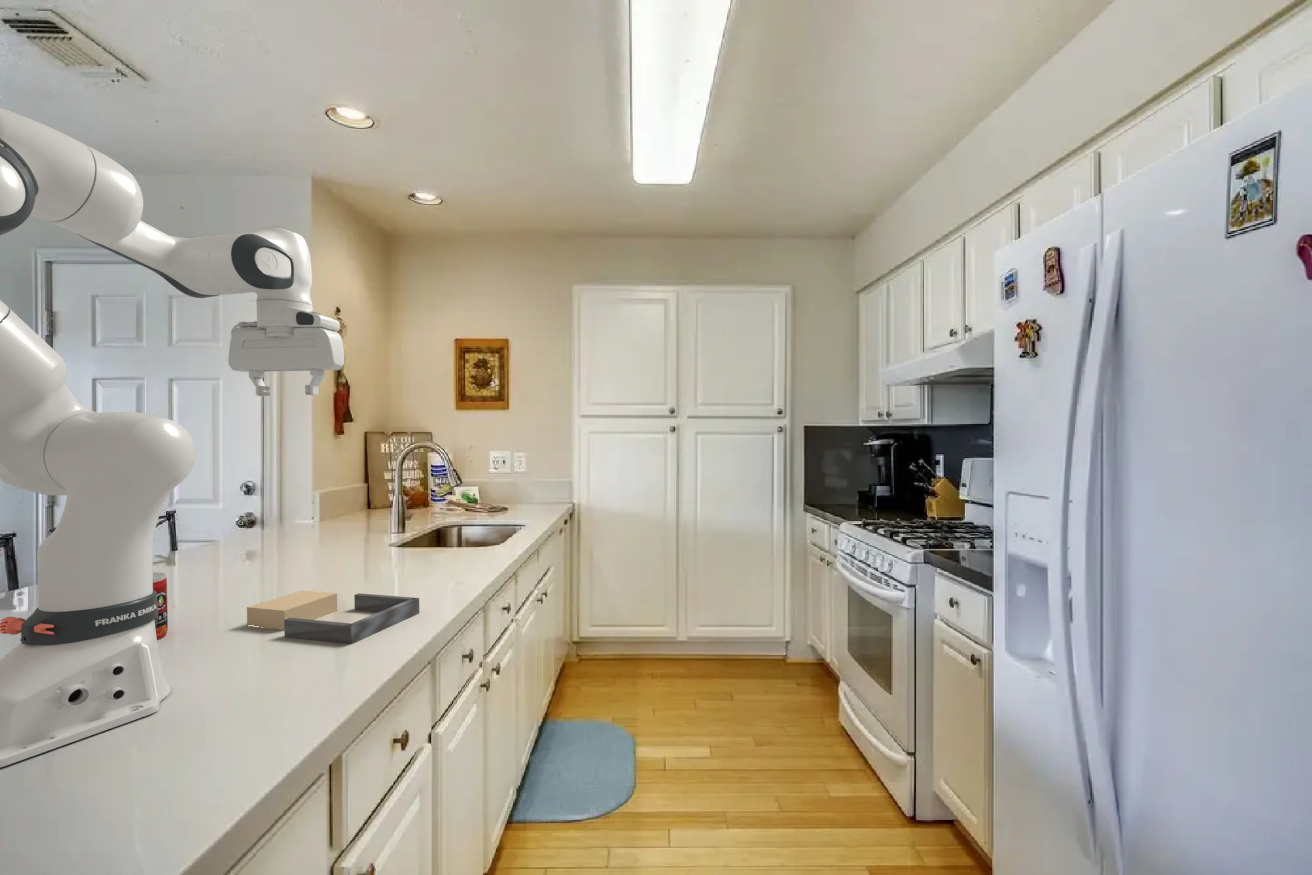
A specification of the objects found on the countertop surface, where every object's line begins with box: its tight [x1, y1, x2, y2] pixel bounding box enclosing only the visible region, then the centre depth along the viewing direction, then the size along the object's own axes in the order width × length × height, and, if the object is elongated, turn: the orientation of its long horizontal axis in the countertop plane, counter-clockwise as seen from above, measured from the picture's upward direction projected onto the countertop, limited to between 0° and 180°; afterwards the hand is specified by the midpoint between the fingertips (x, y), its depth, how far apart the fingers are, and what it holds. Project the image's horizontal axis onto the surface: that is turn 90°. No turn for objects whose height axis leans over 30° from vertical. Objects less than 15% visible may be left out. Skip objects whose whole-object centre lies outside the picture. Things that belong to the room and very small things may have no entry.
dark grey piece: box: [283, 593, 420, 645], centre depth 111 cm, size 17×15×3 cm
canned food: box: [153, 571, 169, 641], centre depth 104 cm, size 8×8×11 cm
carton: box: [246, 590, 338, 631], centre depth 115 cm, size 12×9×4 cm
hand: (287, 395), depth 109 cm, fingers open, 8 cm apart
